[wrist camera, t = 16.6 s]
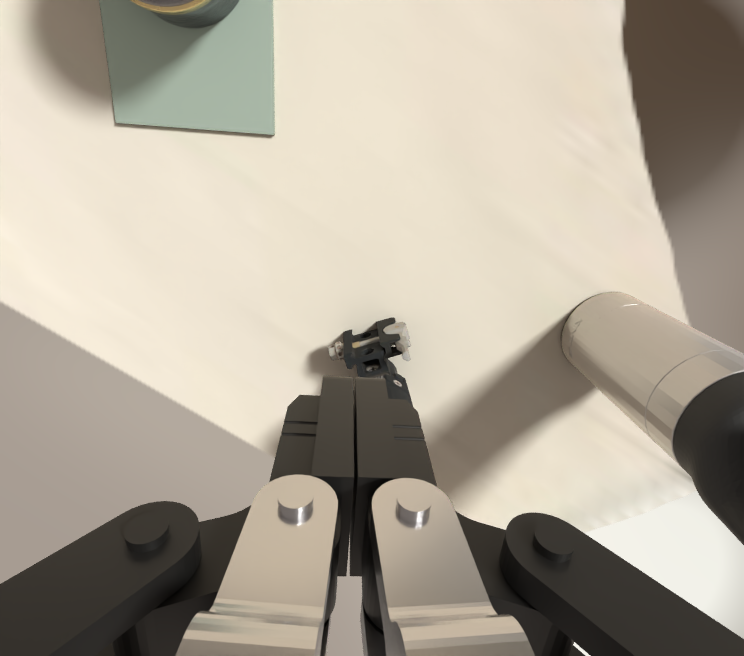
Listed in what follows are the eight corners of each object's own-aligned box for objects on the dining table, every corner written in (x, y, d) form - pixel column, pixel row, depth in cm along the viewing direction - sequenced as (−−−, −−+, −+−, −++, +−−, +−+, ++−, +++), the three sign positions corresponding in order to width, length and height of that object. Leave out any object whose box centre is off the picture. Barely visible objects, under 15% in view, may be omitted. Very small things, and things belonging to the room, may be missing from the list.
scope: (425, 379, 32) (452, 482, 36) (402, 313, 45) (424, 394, 49) (318, 408, 32) (356, 507, 36) (326, 335, 45) (353, 413, 49)
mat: (271, -141, 31) (270, -144, 31) (274, 134, 38) (274, 134, 38) (79, -165, 30) (76, -169, 30) (118, 123, 37) (115, 122, 36)
